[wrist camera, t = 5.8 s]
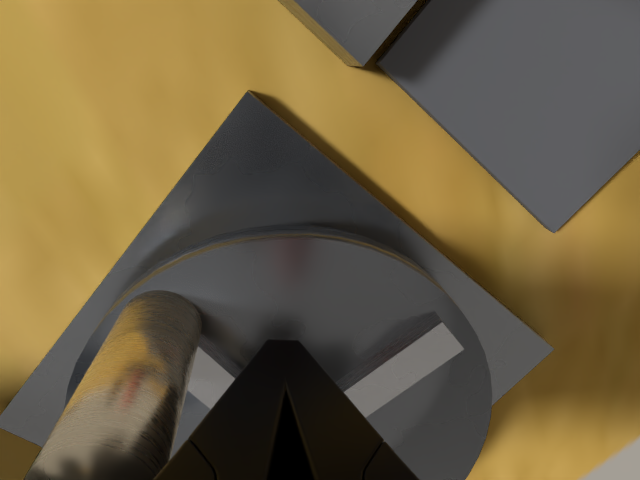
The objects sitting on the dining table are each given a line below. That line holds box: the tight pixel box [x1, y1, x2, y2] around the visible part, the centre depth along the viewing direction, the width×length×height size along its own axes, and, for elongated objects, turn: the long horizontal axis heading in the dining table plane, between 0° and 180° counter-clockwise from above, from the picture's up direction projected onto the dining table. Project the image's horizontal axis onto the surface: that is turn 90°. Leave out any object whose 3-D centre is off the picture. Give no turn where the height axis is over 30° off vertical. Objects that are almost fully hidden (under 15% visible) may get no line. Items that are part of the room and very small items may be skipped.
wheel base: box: [0, 90, 554, 447], centre depth 14 cm, size 12×12×1 cm
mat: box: [376, 0, 640, 233], centre depth 11 cm, size 7×7×1 cm
